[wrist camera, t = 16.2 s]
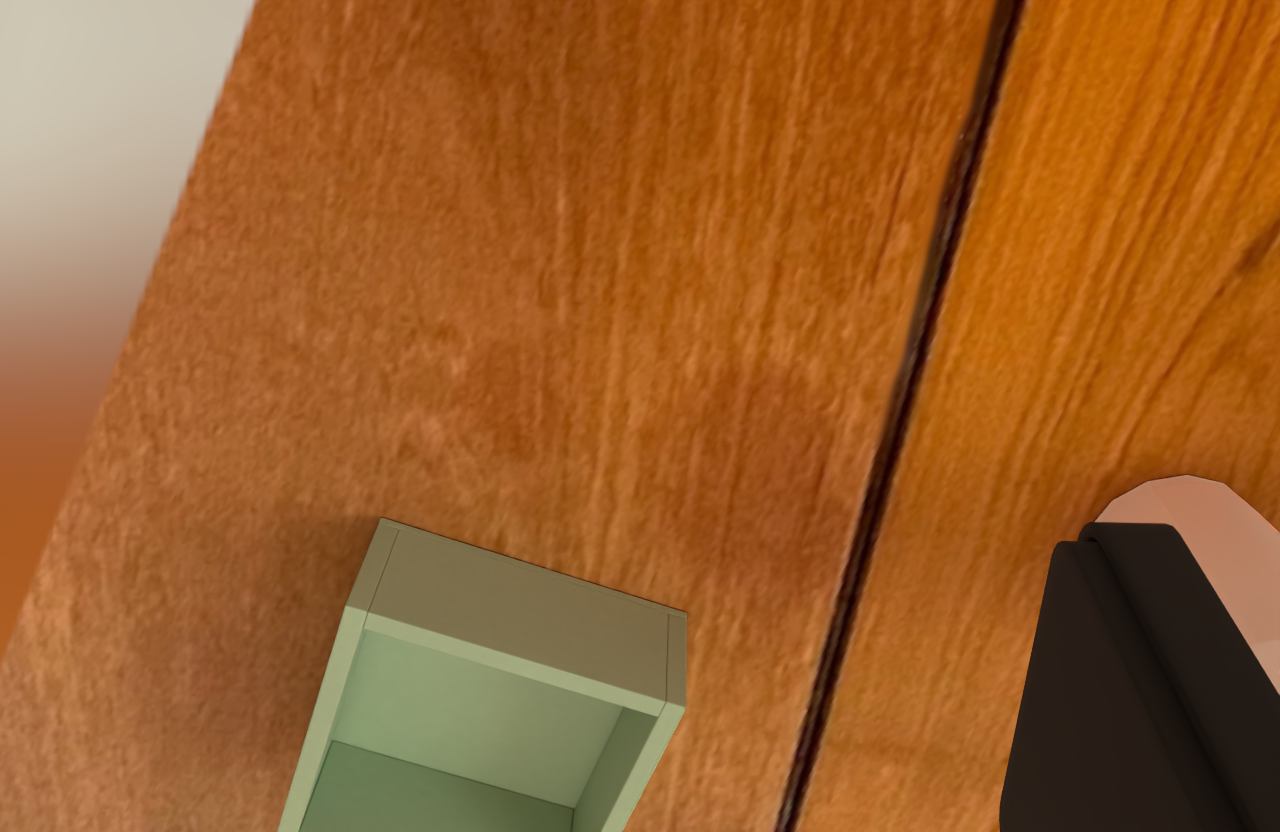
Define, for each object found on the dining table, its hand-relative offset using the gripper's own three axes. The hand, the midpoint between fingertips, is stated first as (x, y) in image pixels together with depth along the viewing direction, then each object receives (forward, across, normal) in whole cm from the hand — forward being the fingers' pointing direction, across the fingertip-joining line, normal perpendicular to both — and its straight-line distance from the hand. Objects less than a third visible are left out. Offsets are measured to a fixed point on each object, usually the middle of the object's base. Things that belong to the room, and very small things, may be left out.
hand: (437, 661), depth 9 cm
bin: (+30, +6, +28) cm, 41 cm away
